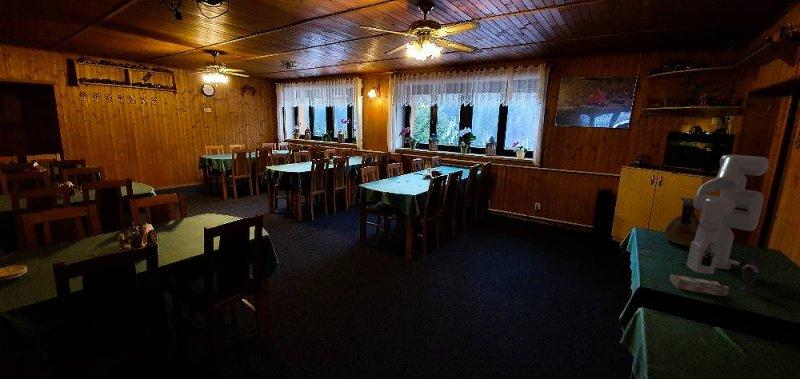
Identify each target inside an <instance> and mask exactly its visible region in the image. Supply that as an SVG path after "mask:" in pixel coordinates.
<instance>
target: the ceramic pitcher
mask: <svg viewBox="0 0 800 379" xmlns="http://www.w3.org/2000/svg"><path fill="white" fill-rule="evenodd" d="M680 200H681V201H682V207H681V209H682V210H681V215H679V216H676V217H674V218H672V220H671V221H670V222H669V223H668V225H667V226H666V228H665V230H664V237H665V239H666V240H668V241H670V242H673V243H675V244H679V245H682V246H685V247H689V248H690V247H691V242H692V241H694V239H695V235H696V232H697V230H698V226H699V221H700V219H699V218H697V216H696V210H697V209H696V208H695V207H694V205H693V201H694V198H688V197H680Z"/></svg>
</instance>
